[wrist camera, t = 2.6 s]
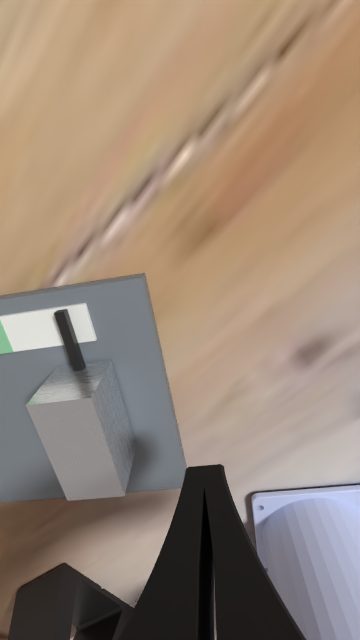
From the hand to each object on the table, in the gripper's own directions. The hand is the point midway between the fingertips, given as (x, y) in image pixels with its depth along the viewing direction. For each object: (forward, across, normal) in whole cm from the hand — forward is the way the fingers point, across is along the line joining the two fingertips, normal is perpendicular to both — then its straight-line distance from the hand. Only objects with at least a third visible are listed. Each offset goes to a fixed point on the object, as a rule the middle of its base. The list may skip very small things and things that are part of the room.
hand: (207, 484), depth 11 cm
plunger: (+5, +6, -2) cm, 8 cm away
